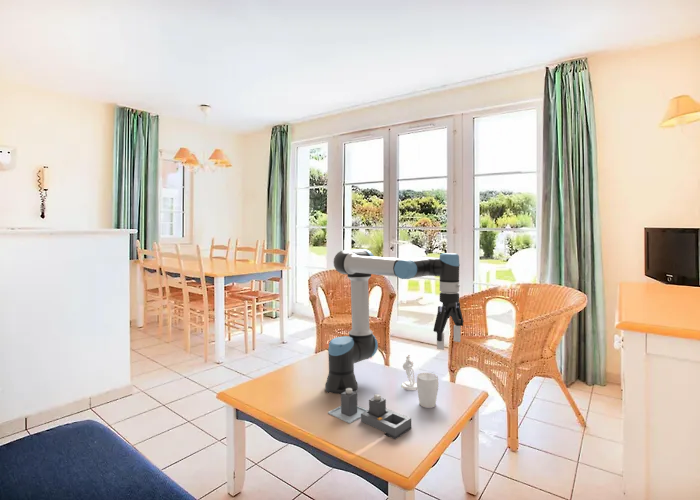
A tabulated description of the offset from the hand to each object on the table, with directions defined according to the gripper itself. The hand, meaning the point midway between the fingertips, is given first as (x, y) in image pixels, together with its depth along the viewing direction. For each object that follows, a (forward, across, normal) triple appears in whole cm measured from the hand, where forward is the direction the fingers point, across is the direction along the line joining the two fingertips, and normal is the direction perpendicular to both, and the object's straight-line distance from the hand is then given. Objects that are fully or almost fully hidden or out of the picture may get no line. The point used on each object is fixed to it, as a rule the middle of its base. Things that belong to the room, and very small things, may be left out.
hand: (449, 345), depth 150 cm
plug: (+26, -28, +28) cm, 48 cm away
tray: (+28, -28, +28) cm, 49 cm away
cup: (+28, +1, +10) cm, 29 cm away
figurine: (+28, +12, +26) cm, 40 cm away
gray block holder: (+27, -25, +12) cm, 39 cm away
